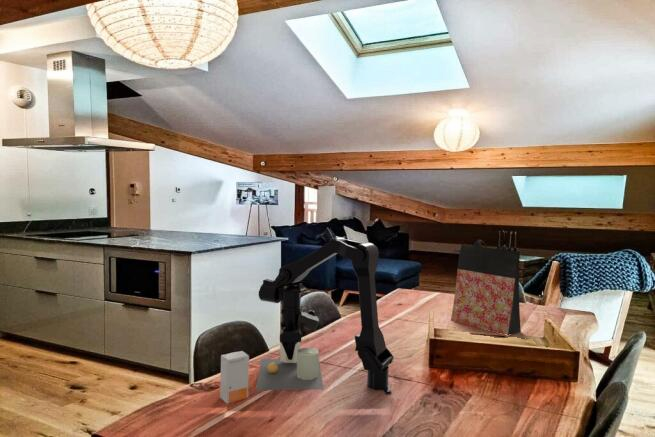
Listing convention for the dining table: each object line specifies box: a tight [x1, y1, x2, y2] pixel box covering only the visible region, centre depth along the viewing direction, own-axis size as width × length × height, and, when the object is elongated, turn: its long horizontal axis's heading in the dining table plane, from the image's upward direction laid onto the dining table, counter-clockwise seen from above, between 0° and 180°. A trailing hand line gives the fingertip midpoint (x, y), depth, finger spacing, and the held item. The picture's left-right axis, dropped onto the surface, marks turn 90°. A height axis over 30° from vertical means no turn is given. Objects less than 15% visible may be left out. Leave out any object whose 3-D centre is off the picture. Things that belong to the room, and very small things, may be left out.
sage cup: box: [297, 347, 320, 380], centre depth 129 cm, size 6×6×7 cm
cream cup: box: [279, 341, 301, 363], centre depth 137 cm, size 6×6×7 cm
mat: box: [255, 358, 324, 391], centre depth 131 cm, size 22×18×1 cm
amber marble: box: [267, 362, 278, 373], centre depth 130 cm, size 3×3×3 cm
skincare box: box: [219, 350, 250, 404], centre depth 114 cm, size 6×4×12 cm
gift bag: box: [450, 239, 522, 335], centre depth 186 cm, size 29×14×35 cm, turn 39°
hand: (290, 355), depth 137 cm, fingers closed on cream cup, 6 cm apart
